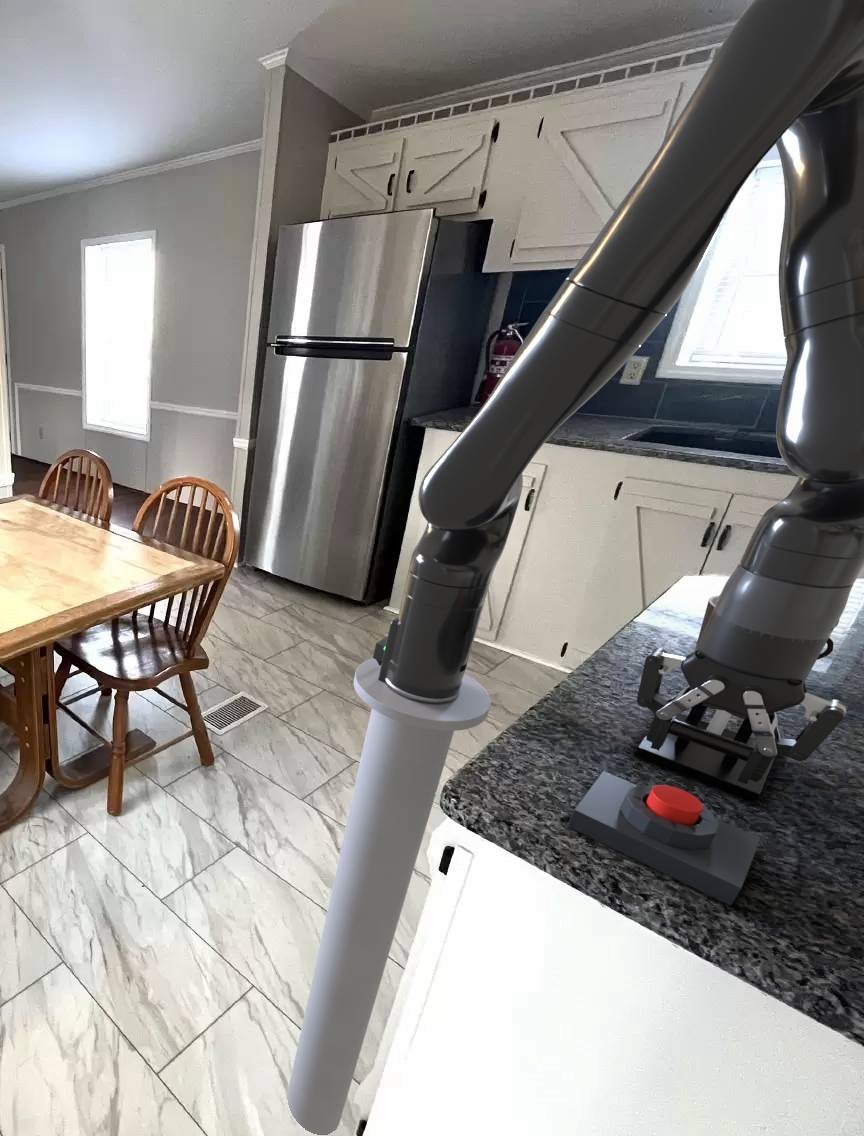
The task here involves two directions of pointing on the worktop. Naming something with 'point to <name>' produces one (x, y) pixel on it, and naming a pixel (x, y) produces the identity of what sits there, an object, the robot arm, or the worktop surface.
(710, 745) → the lever
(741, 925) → the worktop surface
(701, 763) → the black metal frame
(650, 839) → the button box
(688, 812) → the button
